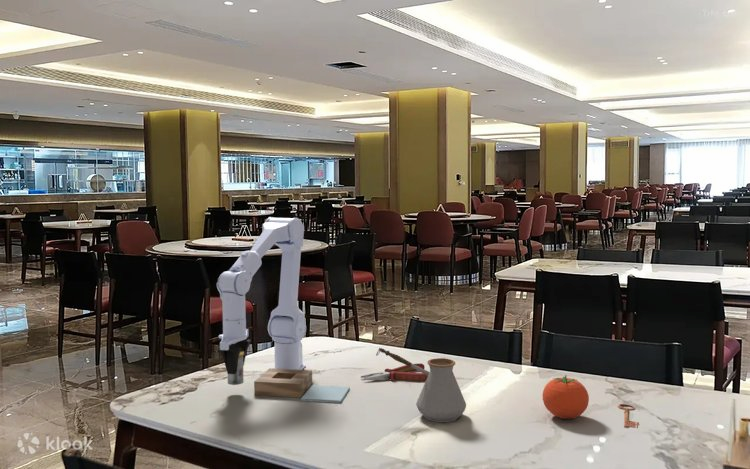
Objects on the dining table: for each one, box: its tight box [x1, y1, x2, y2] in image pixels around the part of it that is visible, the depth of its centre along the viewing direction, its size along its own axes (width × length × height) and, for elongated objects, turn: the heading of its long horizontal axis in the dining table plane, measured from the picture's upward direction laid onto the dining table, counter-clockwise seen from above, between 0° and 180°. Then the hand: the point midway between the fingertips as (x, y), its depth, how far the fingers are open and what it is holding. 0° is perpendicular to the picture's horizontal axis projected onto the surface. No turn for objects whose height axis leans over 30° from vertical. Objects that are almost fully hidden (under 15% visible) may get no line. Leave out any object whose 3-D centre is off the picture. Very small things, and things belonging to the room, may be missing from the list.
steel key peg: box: [226, 350, 245, 386], centre depth 168 cm, size 4×4×8 cm
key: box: [617, 403, 640, 429], centre depth 152 cm, size 6×1×15 cm
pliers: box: [360, 362, 428, 382], centre depth 182 cm, size 11×20×3 cm, turn 107°
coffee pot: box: [375, 347, 467, 423], centre depth 153 cm, size 21×12×15 cm, turn 72°
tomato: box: [541, 374, 590, 420], centre depth 151 cm, size 10×10×10 cm
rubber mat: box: [300, 384, 351, 404], centre depth 168 cm, size 11×10×1 cm
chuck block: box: [253, 368, 313, 398], centre depth 172 cm, size 12×12×4 cm
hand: (235, 371), depth 168 cm, fingers closed on steel key peg, 4 cm apart
